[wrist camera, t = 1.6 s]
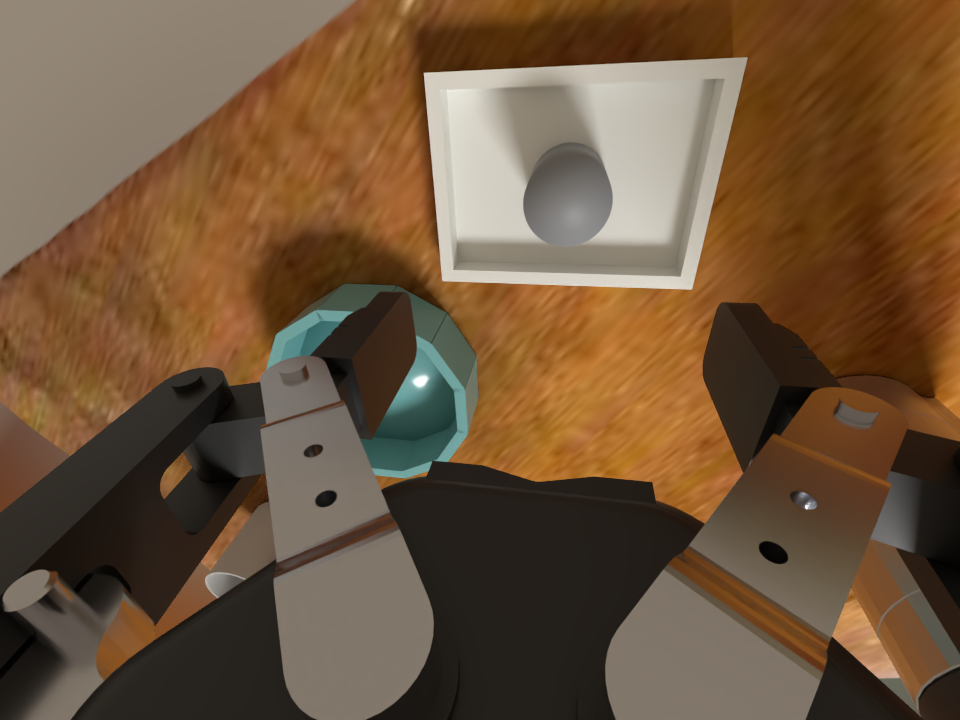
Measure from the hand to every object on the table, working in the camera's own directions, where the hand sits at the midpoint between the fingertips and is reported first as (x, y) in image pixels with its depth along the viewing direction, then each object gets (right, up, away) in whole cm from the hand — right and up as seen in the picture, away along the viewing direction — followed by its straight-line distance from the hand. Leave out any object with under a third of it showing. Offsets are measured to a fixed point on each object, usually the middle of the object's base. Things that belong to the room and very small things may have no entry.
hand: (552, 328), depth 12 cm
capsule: (+3, +10, +14) cm, 18 cm away
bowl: (-10, -2, +25) cm, 27 cm away
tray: (+3, +10, +15) cm, 18 cm away
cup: (-24, -19, +40) cm, 50 cm away
